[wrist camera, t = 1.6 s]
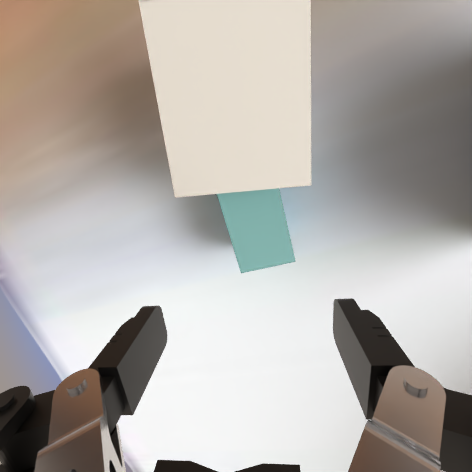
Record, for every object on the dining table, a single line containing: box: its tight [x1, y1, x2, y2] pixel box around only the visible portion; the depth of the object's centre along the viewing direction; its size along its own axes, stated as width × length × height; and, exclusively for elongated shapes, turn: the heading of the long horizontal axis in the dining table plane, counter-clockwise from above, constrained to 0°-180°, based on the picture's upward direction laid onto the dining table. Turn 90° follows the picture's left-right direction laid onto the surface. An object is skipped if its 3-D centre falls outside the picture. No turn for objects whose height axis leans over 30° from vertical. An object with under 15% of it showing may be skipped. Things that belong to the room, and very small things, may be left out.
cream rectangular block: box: [139, 0, 311, 198], centre depth 17 cm, size 10×8×10 cm
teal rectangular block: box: [217, 188, 295, 273], centre depth 21 cm, size 14×4×6 cm, turn 16°
